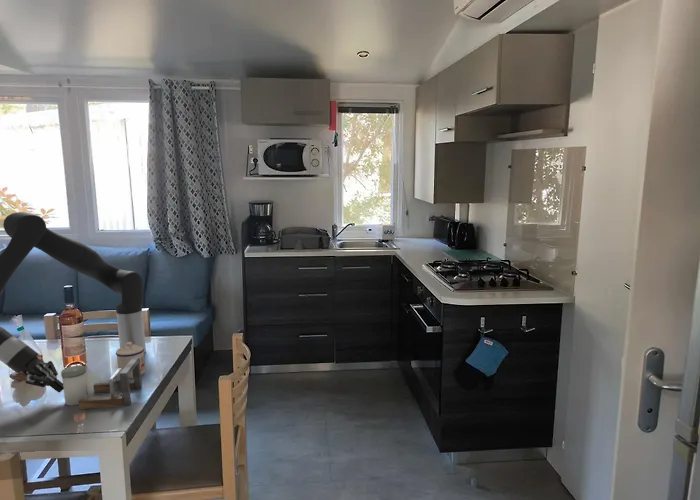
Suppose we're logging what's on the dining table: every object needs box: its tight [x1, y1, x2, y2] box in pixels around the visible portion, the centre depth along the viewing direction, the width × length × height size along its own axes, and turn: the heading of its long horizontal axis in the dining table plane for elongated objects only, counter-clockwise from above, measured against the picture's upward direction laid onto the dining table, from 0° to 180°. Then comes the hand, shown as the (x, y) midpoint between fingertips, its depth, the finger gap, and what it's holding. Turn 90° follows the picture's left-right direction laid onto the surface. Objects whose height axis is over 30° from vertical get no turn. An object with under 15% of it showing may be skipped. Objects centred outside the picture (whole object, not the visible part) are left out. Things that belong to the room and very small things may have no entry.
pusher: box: [108, 367, 134, 397], centre depth 155 cm, size 9×6×8 cm, turn 7°
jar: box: [60, 365, 90, 406], centre depth 153 cm, size 7×7×10 cm
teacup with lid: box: [115, 342, 146, 380], centre depth 173 cm, size 12×9×12 cm
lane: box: [78, 357, 143, 410], centre depth 154 cm, size 13×14×10 cm
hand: (62, 389), depth 152 cm, fingers closed
